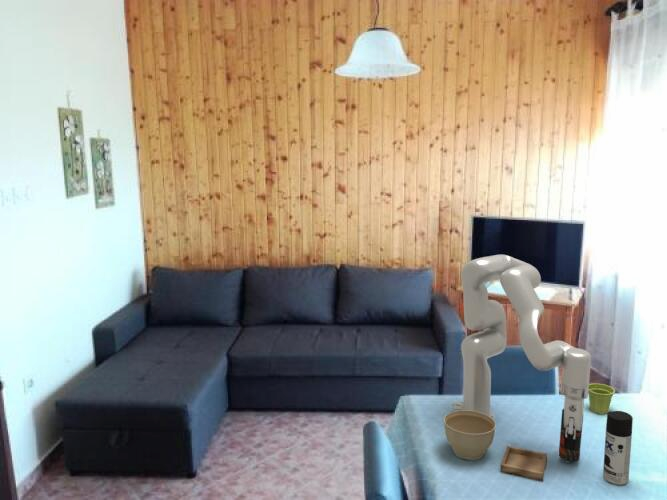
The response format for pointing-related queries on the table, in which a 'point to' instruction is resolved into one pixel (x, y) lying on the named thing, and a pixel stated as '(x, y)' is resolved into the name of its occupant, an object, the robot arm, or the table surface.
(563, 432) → the deodorant
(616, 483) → the spray can
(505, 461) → the tray
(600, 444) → the table surface
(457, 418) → the planter bowl
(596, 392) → the plant pot
